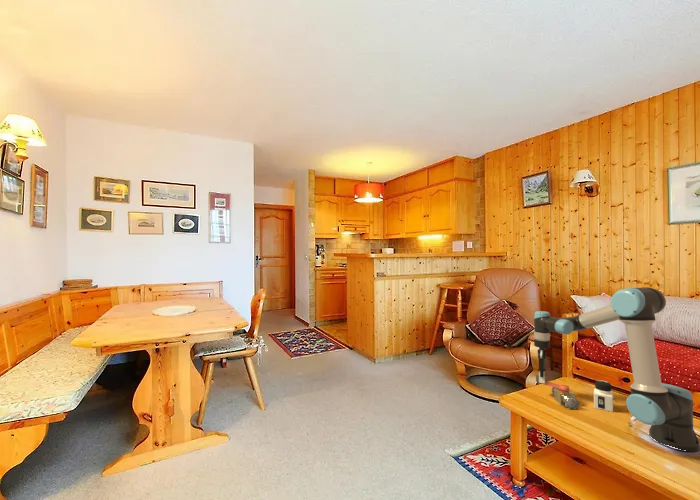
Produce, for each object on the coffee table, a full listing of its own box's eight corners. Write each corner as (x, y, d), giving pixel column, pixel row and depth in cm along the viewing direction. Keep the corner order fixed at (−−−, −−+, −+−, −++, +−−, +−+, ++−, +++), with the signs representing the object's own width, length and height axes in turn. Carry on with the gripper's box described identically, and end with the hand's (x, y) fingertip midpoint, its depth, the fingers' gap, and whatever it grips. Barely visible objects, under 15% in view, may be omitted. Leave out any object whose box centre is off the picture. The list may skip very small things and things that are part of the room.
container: (613, 412, 164) (612, 386, 164) (593, 408, 169) (593, 382, 169) (612, 406, 170) (612, 381, 170) (594, 402, 175) (593, 378, 175)
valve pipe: (580, 410, 166) (579, 397, 167) (565, 409, 168) (564, 396, 168) (564, 396, 182) (564, 384, 182) (550, 395, 183) (550, 384, 183)
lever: (570, 389, 175) (570, 382, 175) (567, 392, 172) (567, 383, 172) (538, 381, 187) (538, 373, 187) (535, 383, 184) (535, 375, 184)
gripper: (549, 343, 175) (549, 387, 174) (550, 338, 186) (550, 380, 185) (533, 340, 179) (532, 384, 179) (535, 336, 190) (535, 377, 189)
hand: (541, 382), depth 182 cm, fingers closed
